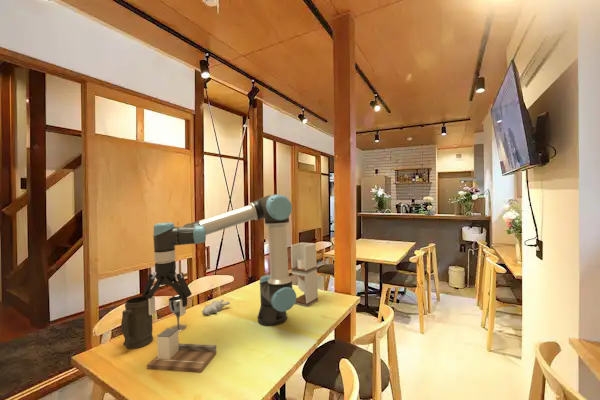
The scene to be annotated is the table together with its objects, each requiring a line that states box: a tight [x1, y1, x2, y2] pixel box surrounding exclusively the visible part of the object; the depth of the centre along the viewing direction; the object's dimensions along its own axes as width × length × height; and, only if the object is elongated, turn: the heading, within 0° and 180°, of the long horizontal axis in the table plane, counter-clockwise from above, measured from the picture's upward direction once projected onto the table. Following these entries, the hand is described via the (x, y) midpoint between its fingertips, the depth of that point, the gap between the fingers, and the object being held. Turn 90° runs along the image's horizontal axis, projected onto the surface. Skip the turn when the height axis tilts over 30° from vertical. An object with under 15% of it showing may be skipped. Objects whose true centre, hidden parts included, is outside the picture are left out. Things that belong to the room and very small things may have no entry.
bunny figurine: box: [201, 299, 231, 316], centre depth 154 cm, size 10×5×15 cm
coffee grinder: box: [290, 242, 319, 308], centre depth 163 cm, size 11×11×35 cm
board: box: [146, 342, 217, 374], centre depth 106 cm, size 22×12×4 cm, turn 81°
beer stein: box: [120, 295, 154, 350], centre depth 119 cm, size 15×11×20 cm
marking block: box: [156, 328, 180, 359], centre depth 108 cm, size 5×6×9 cm
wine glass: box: [168, 294, 187, 332], centre depth 134 cm, size 8×8×15 cm
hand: (167, 314), depth 108 cm, fingers open, 13 cm apart
